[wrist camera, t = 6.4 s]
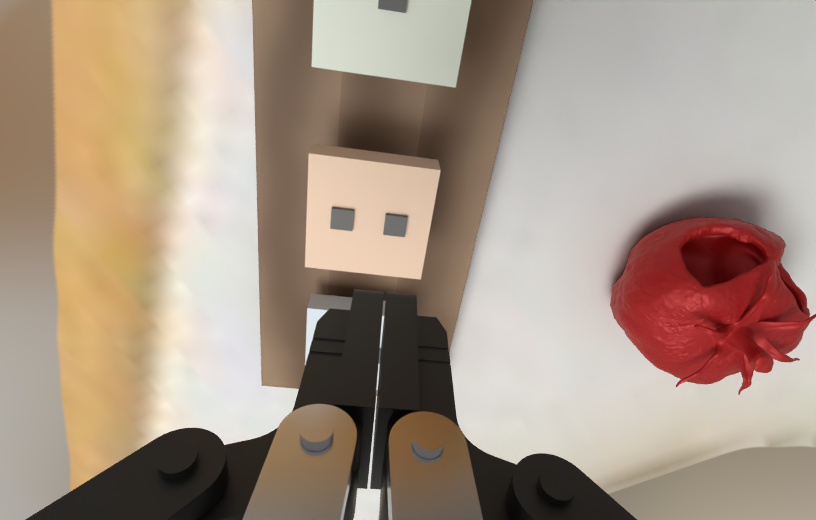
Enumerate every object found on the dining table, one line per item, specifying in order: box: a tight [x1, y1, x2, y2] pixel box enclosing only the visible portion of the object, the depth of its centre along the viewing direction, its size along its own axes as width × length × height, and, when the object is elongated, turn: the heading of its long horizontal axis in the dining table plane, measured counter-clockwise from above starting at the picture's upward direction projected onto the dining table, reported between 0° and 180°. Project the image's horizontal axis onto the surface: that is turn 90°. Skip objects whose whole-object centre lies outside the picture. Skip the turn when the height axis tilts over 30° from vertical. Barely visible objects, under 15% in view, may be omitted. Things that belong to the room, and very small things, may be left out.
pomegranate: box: [610, 217, 816, 395], centre depth 26 cm, size 10×10×9 cm
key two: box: [305, 144, 441, 280], centre depth 23 cm, size 6×6×4 cm
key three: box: [305, 293, 386, 390], centre depth 28 cm, size 6×6×4 cm
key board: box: [252, 0, 533, 395], centre depth 26 cm, size 12×30×2 cm, turn 172°
